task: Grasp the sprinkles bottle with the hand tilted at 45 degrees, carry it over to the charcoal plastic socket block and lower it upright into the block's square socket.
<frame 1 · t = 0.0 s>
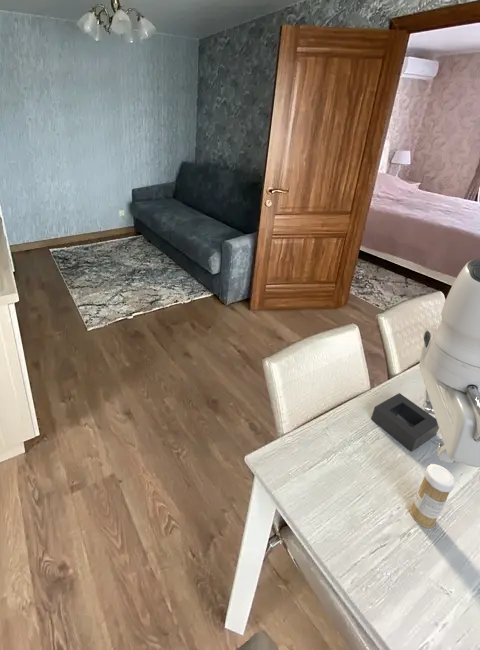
hand: (435, 432, 56), 31 cm above the table, tool pointing down, fingers open, 8 cm apart
sprinkles bottle: (421, 517, 72), on the table
socket block: (402, 426, 93), on the table
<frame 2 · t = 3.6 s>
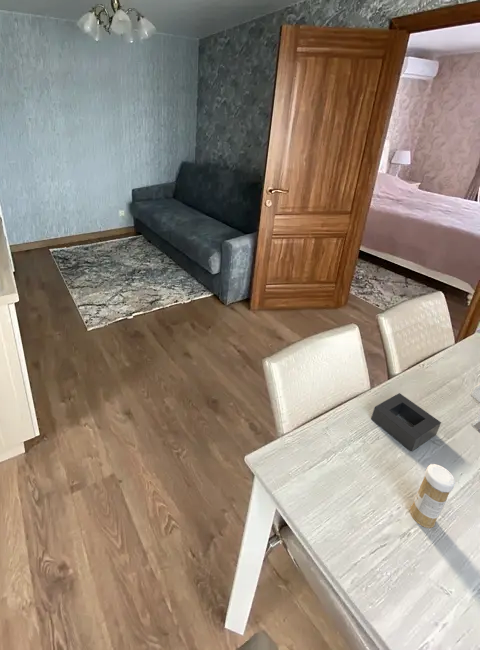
nothing on the table moved.
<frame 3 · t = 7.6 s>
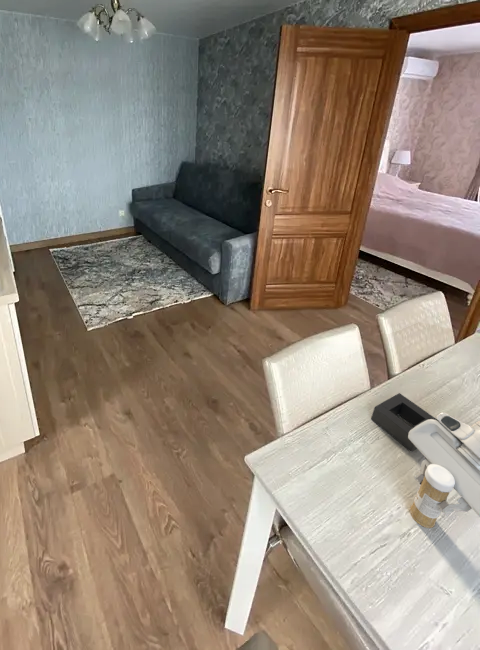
hand: (429, 495, 70), 7 cm above the table, tool tilted 45°, fingers closed on sprinkles bottle, 4 cm apart
sprinkles bottle: (421, 517, 72), on the table, touching gripper
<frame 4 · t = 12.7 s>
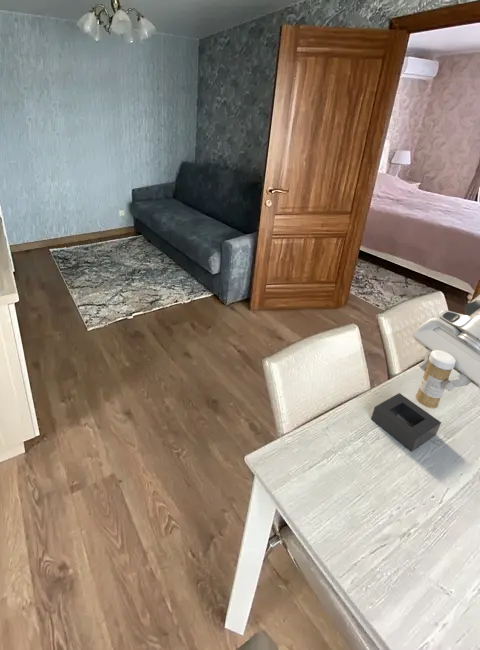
hand: (433, 378, 78), 23 cm above the table, tool tilted 45°, fingers closed on sprinkles bottle, 4 cm apart
sprinkles bottle: (426, 402, 81), point 15 cm above the table, touching gripper
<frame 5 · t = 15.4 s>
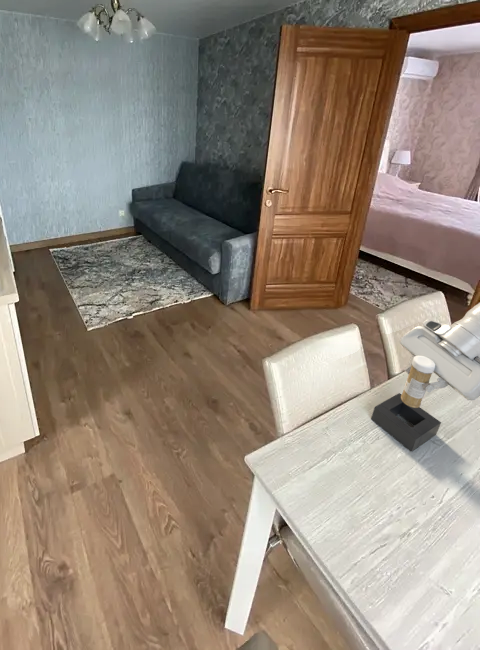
hand: (415, 380, 87), 16 cm above the table, tool tilted 45°, fingers closed on sprinkles bottle, 4 cm apart
sprinkles bottle: (410, 402, 90), point 8 cm above the table, touching gripper
when the fingers open (9 cm above the table, at t = 17.7 s): sprinkles bottle drops 2 cm, resting in socket block.
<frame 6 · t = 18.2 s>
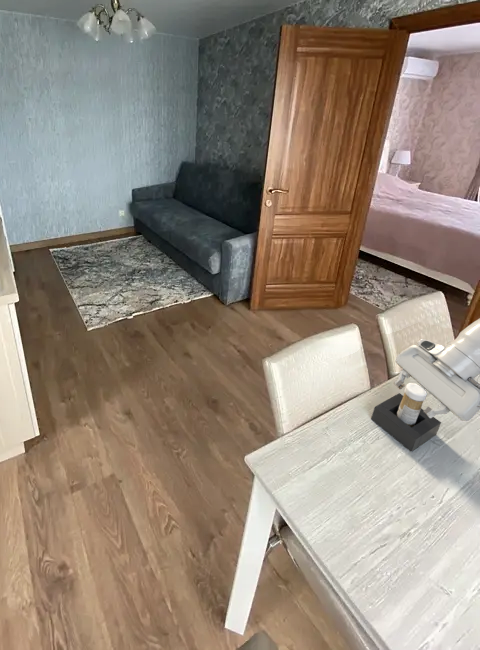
hand: (411, 400, 89), 10 cm above the table, tool tilted 45°, fingers open, 8 cm apart
sprinkles bottle: (402, 427, 93), resting in socket block
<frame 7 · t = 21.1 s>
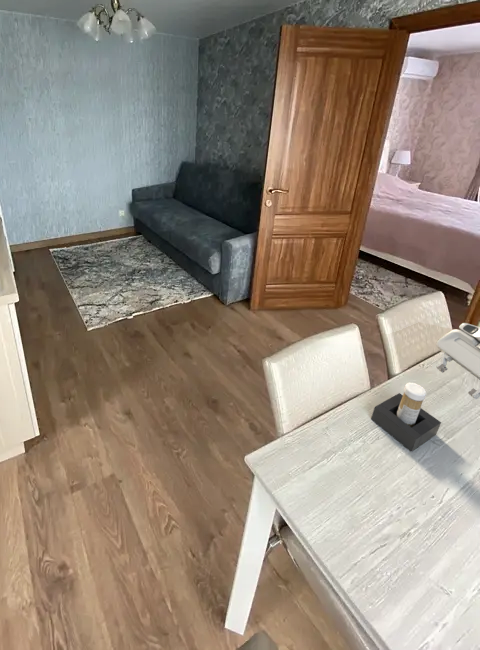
hand: (454, 382, 91), 13 cm above the table, tool tilted 45°, fingers open, 8 cm apart
nothing on the table moved.
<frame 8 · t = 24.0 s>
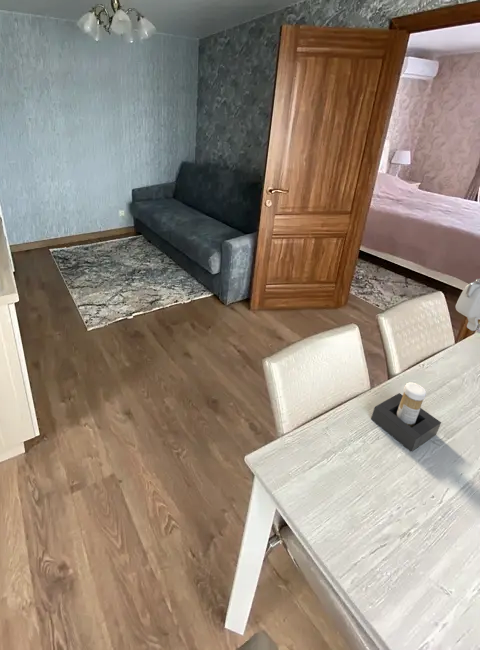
nothing on the table moved.
at the end: sprinkles bottle 0.1 cm off-centre in the socket block, point 0.0 cm above the socket block's base; sprinkles bottle tilted 1° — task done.
